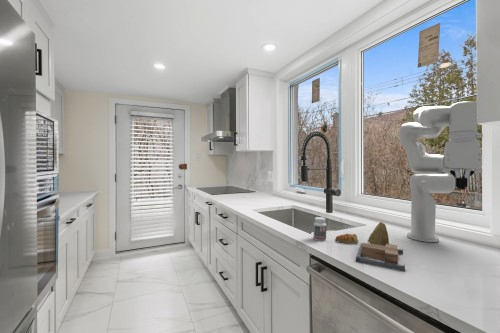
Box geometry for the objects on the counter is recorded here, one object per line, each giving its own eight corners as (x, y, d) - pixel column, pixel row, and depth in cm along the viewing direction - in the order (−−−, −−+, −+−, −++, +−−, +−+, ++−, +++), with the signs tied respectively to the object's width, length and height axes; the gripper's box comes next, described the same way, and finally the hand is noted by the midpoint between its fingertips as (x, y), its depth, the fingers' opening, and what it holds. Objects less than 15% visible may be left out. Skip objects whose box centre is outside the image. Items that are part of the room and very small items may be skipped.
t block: (363, 249, 101) (363, 240, 101) (397, 255, 95) (397, 245, 95) (360, 259, 90) (360, 248, 90) (397, 266, 84) (398, 255, 84)
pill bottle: (328, 240, 112) (329, 219, 112) (317, 241, 110) (318, 220, 110) (321, 237, 117) (321, 216, 117) (311, 237, 116) (311, 217, 115)
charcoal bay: (361, 246, 104) (361, 243, 104) (402, 253, 97) (402, 249, 97) (355, 261, 89) (355, 257, 88) (405, 271, 81) (405, 266, 81)
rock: (396, 246, 98) (395, 236, 107) (382, 228, 100) (382, 220, 108) (372, 257, 103) (373, 247, 112) (359, 240, 105) (360, 231, 113)
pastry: (337, 244, 108) (337, 235, 108) (333, 239, 115) (334, 231, 115) (359, 245, 107) (359, 236, 107) (354, 240, 114) (354, 232, 114)
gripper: (487, 137, 85) (485, 189, 86) (434, 139, 93) (433, 187, 93) (495, 135, 79) (493, 191, 79) (437, 137, 86) (436, 188, 87)
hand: (461, 189), depth 86 cm, fingers closed
